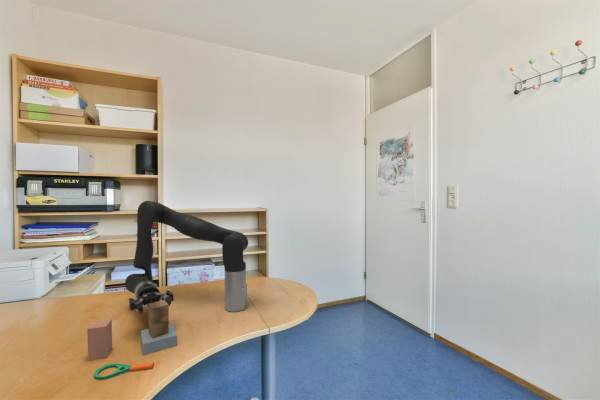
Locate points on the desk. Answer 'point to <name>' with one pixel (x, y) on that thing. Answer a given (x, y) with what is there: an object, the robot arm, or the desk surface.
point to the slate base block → (158, 341)
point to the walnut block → (158, 318)
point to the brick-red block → (99, 339)
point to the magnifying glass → (121, 369)
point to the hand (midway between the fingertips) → (155, 306)
